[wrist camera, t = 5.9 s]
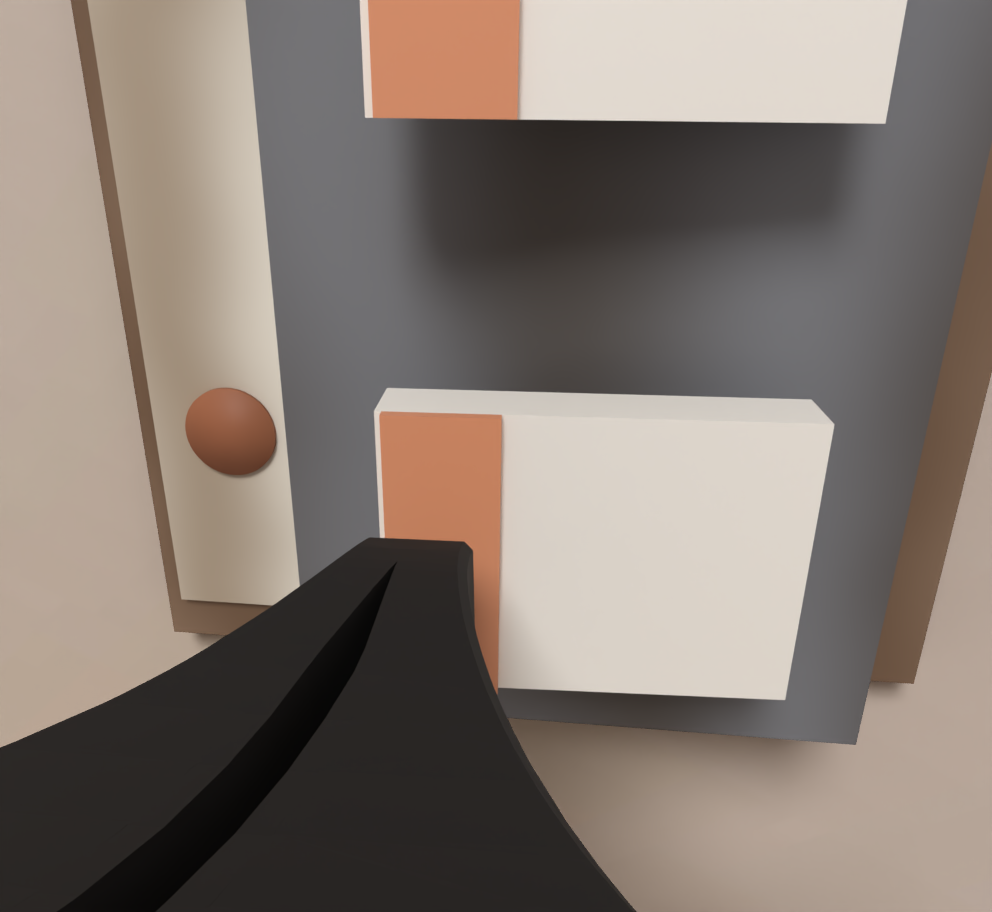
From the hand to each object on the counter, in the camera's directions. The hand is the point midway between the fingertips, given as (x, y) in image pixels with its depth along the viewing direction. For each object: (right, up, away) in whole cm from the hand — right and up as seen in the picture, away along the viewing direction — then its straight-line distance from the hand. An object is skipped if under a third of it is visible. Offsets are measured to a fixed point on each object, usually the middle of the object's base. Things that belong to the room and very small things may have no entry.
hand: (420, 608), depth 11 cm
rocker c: (+2, +1, +2) cm, 3 cm away
